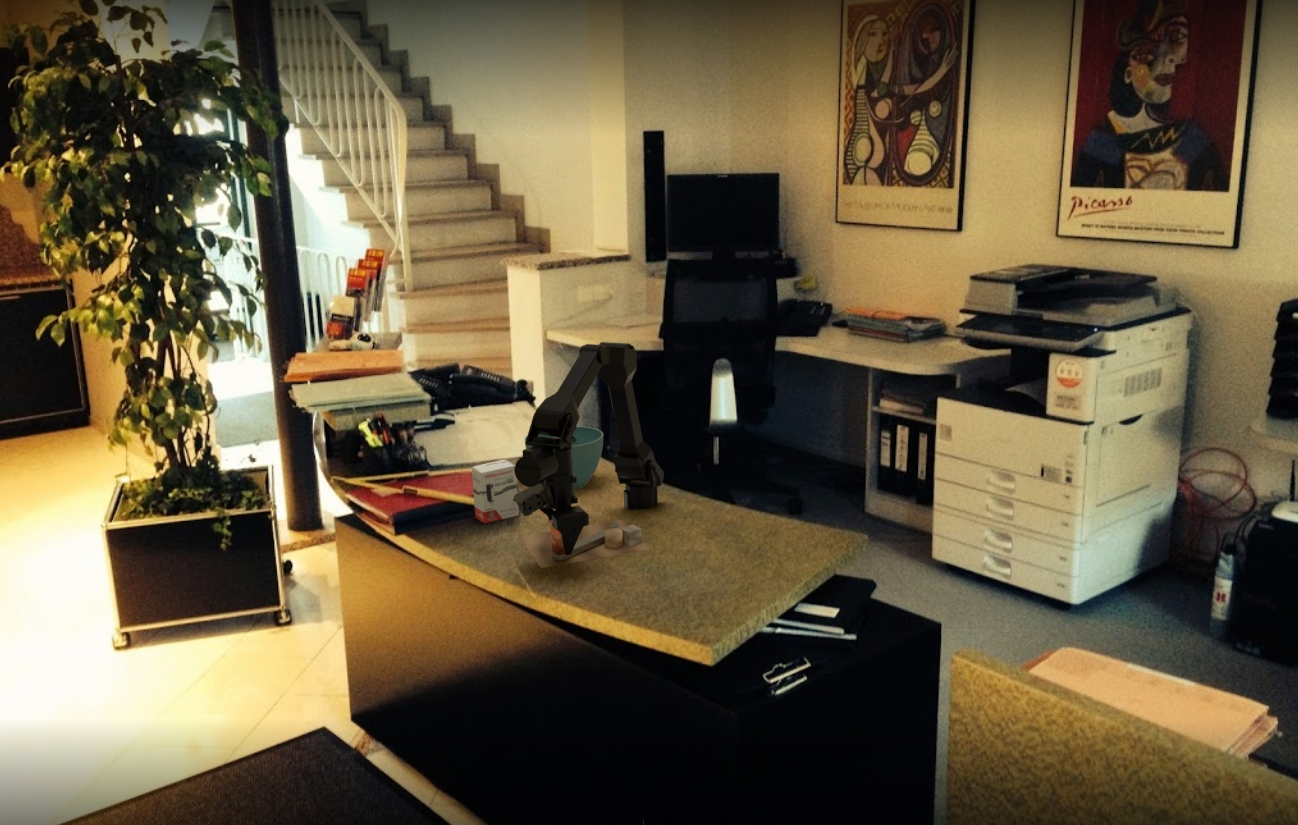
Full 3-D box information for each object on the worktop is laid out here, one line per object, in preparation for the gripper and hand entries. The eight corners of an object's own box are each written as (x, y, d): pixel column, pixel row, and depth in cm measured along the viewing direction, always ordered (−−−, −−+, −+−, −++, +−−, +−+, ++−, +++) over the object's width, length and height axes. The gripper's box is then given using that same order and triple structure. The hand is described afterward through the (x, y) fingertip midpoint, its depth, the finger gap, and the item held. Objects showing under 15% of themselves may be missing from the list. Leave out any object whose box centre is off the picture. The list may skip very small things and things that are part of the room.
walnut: (619, 541, 222) (619, 527, 221) (625, 547, 219) (624, 533, 218) (603, 544, 221) (602, 530, 220) (608, 550, 218) (607, 535, 217)
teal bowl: (512, 491, 259) (508, 440, 255) (561, 470, 273) (558, 421, 270) (573, 503, 248) (570, 451, 245) (621, 480, 263) (618, 431, 260)
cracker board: (622, 525, 234) (621, 506, 233) (650, 554, 218) (649, 534, 217) (519, 542, 227) (518, 522, 226) (541, 573, 211) (540, 553, 210)
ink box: (484, 524, 238) (480, 471, 235) (474, 518, 242) (470, 466, 239) (520, 515, 243) (516, 463, 240) (510, 509, 247) (506, 458, 244)
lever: (603, 534, 225) (601, 498, 223) (616, 538, 223) (614, 502, 221) (548, 558, 214) (546, 520, 212) (561, 562, 212) (559, 524, 210)
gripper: (505, 463, 215) (511, 538, 220) (528, 491, 198) (533, 572, 202) (560, 455, 219) (565, 529, 223) (587, 482, 202) (592, 562, 206)
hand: (563, 548), depth 214 cm, fingers open, 7 cm apart
